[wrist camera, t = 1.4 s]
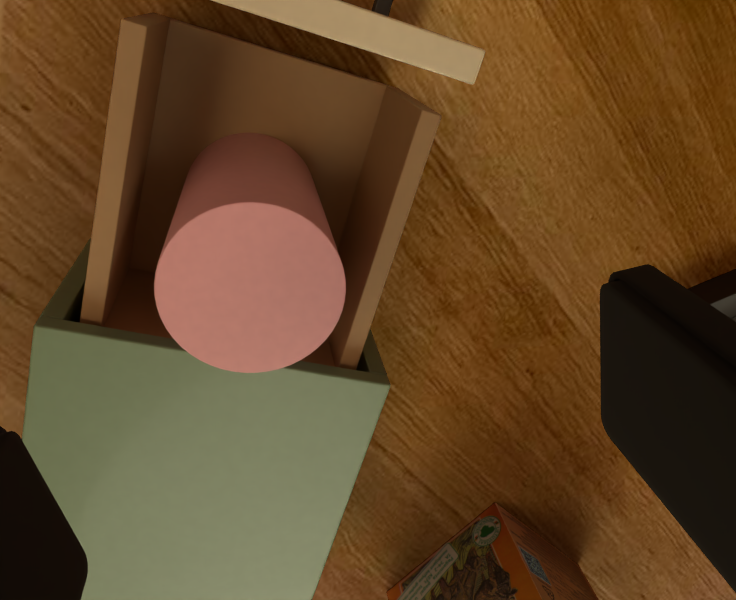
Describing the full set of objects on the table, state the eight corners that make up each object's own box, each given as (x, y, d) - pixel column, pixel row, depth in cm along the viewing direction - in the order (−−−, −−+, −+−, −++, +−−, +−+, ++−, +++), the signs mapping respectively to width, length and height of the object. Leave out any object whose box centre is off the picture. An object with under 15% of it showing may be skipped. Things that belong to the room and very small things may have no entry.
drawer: (165, -198, 23) (130, -279, 16) (465, -78, 27) (540, -103, 20) (98, 266, 31) (54, 346, 24) (341, 314, 34) (365, 396, 27)
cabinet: (92, 233, 31) (33, 324, 22) (356, 288, 34) (391, 385, 26) (58, 479, 36) (1, 627, 28) (287, 504, 40) (297, 640, 32)
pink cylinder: (158, 209, 29) (115, 313, 19) (235, 104, 27) (228, 161, 18) (265, 280, 31) (272, 402, 22) (340, 186, 30) (383, 273, 20)
